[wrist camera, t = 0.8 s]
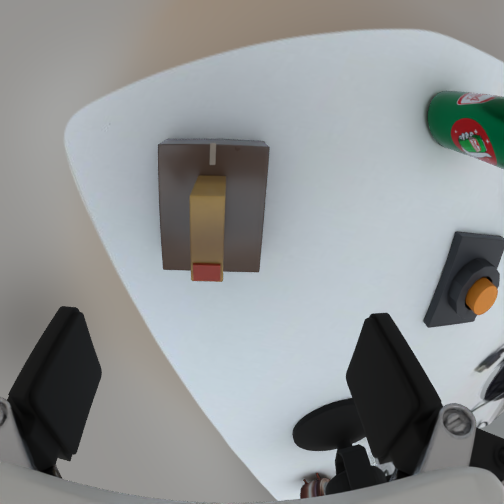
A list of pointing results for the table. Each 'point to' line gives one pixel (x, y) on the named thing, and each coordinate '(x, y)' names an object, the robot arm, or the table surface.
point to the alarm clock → (314, 488)
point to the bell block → (464, 277)
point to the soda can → (469, 124)
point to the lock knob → (207, 228)
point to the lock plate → (236, 202)
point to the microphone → (340, 445)
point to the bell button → (481, 296)
